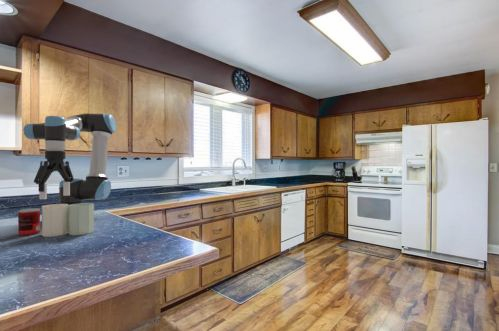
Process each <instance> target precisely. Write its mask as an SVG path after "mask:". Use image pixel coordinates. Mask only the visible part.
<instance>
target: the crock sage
mask: <svg viewBox="0 0 499 331" xmlns="http://www.w3.org/2000/svg"><path fill="white" fill-rule="evenodd" d="M94 231H95V204H94V203H92V202H83V203H79V204H72V205H68V233H67V234H68V235H69V236H82V235H83V236H84V235H88V234H93V233H94Z"/></svg>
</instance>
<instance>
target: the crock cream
mask: <svg viewBox="0 0 499 331" xmlns="http://www.w3.org/2000/svg"><path fill="white" fill-rule="evenodd" d="M67 234H69V233H68V204H59V203H56V204H55V203H54V204H46V205H41V236H42V237H45V238H52V237H59V236H64V235H67Z"/></svg>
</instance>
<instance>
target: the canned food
mask: <svg viewBox="0 0 499 331" xmlns="http://www.w3.org/2000/svg"><path fill="white" fill-rule="evenodd" d="M40 209H41V208H35V207H34V208H23V209H19V210H18V211H17V212H18V213H17V214H18V216H17V217H18V218H17V219H18V220H17V221H18V224H17V225H18V227H17V228H18V230H17V232H18V235H19V236H21V237H25V236H26V237H27V236H34V235H38V234H40V232H41V210H40Z"/></svg>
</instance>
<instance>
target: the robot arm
mask: <svg viewBox="0 0 499 331" xmlns="http://www.w3.org/2000/svg"><path fill="white" fill-rule="evenodd" d="M44 118H45V119H44V122H39V123H26V124H25V125H24V126H23V129H22V131H23V135H24V136H25V138H26V139H29V140H35V141H36V140H44V149H45V151H44V159H45V160H40V164H39V168H38V170H37V172H36V174H35V177H34V180H33V183H35V184H36V185H38V194H39V196H38V197H39V198H38V199H39V200H47V199H48V184H47V183H46V182H47V181H48V179H49V178H50V177H51V176H52V175H51V174H53V173H54V172H58V173H59V175H60V176H61V178H62V180H60V182H59V187H58V191H59V195H58V196H59V200H58V201H59V203H58V204H68V205H72V204H79V203H84V201H85V200H86V201H89V200H90V201H91V200H93V201H95V200H96V201H98V200H106V199H107V198H108V197H109V195H110V194H111V190H112V185H111V184H112V182H111V180H109V177H108V176H107V175H106V173H107V172H106V171H107V162H108V151H109V140H110V138H111V137H112V136H113V135H112V134H113V133H115V132H116V131H117V125H116V124H117V123H116V120H115V118H114V117H113V115H111V113H110V114H109V113H80V114H75V115H71V116H67V118H65V117H63V116H59V115H48V116H46V117H44ZM81 132H84V133H90V135H91V136H92V144H91V153H90V154H91V155H90V162H89V173H88V175H86V177H85V179H84V178H83V177H77V178H75V177H74V175H73V172H72V170H71V168H70V161H68V160H67V161H66V148H67V147H66V145H67V144H66V141H76V140H78V139H79V138H80V136H81Z"/></svg>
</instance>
